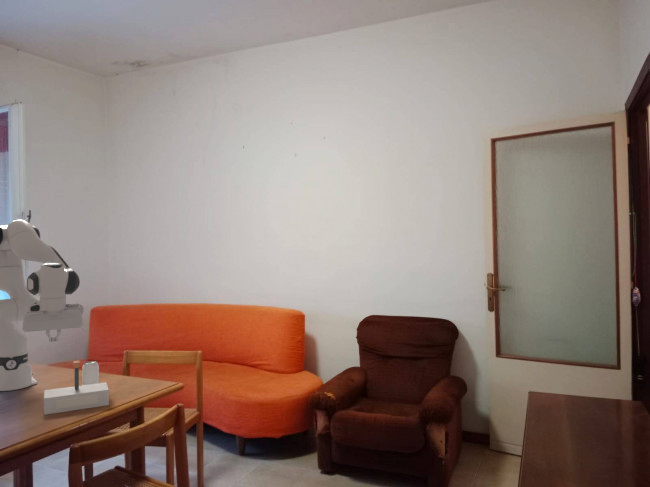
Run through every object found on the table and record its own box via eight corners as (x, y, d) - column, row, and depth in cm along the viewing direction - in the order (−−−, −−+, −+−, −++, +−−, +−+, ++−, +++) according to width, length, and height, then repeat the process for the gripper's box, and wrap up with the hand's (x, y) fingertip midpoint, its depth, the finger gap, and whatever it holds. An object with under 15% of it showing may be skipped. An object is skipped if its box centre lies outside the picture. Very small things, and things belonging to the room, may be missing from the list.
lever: (73, 388, 194) (73, 360, 194) (79, 387, 195) (79, 360, 195) (73, 390, 190) (73, 363, 190) (79, 390, 191) (79, 362, 191)
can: (102, 388, 215) (101, 361, 215) (93, 393, 208) (93, 364, 208) (87, 388, 215) (87, 360, 215) (79, 392, 209) (78, 364, 209)
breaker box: (44, 405, 192) (44, 390, 192) (106, 396, 203) (106, 382, 203) (44, 415, 182) (43, 398, 182) (109, 405, 192) (108, 389, 192)
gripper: (82, 302, 197) (83, 337, 197) (22, 306, 187) (23, 342, 187) (83, 304, 191) (84, 339, 191) (21, 307, 181) (22, 345, 181)
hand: (53, 341), depth 189 cm, fingers closed
